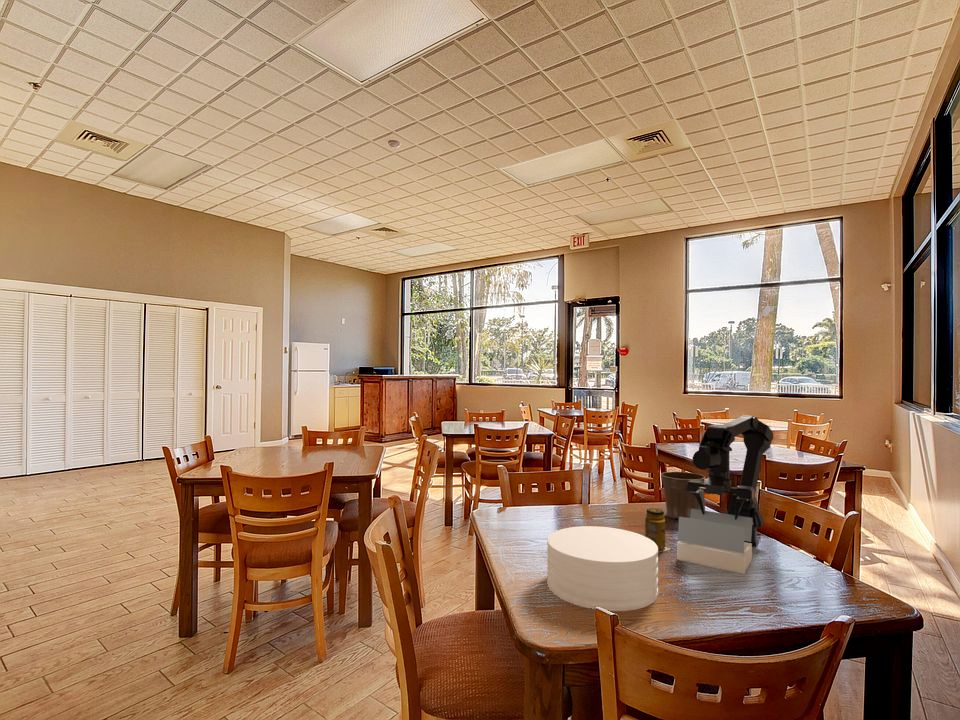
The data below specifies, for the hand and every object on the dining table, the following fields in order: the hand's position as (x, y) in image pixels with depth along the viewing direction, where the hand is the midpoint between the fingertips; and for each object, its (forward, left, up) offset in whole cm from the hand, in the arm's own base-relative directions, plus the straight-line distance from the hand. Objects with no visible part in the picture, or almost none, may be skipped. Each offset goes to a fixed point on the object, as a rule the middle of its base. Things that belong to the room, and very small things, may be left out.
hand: (719, 516), depth 158 cm
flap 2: (0, 0, -2) cm, 2 cm away
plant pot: (-35, -20, -11) cm, 42 cm away
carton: (+7, 0, -11) cm, 13 cm away
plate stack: (+45, -20, -12) cm, 51 cm away
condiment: (+8, -18, -11) cm, 23 cm away
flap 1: (+13, 0, -2) cm, 13 cm away
